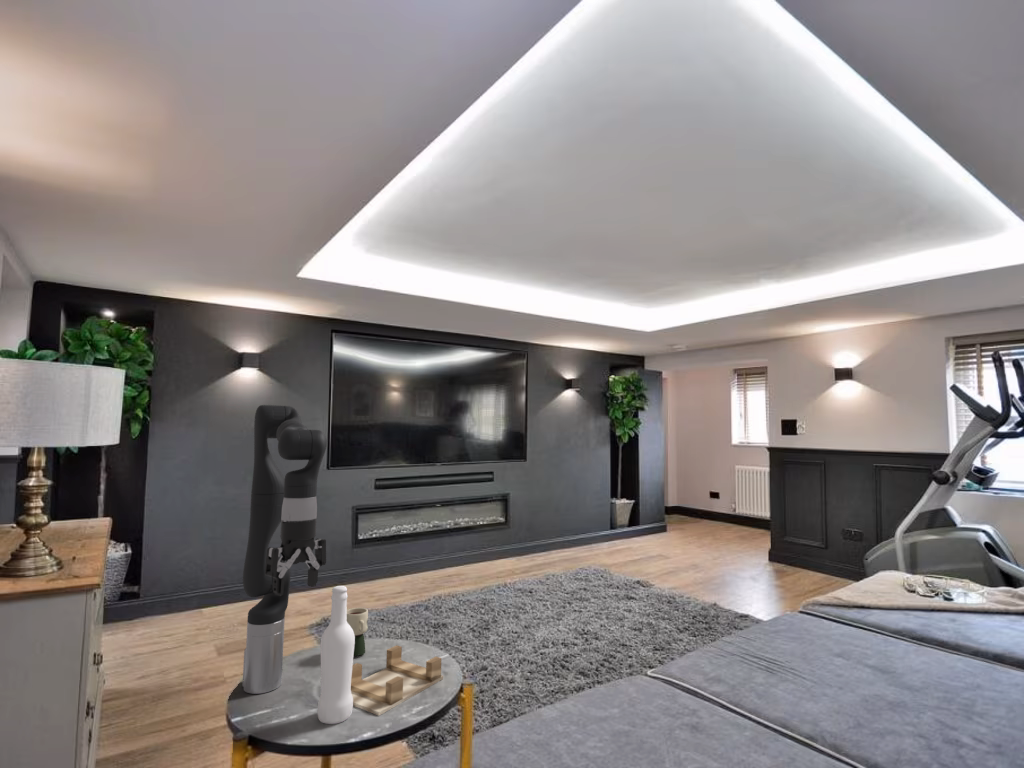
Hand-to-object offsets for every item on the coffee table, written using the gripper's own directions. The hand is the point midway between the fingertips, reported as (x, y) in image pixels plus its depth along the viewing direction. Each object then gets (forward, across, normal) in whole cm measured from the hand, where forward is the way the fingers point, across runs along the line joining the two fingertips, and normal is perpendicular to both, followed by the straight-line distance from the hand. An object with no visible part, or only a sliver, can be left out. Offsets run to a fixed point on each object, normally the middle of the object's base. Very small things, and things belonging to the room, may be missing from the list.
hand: (295, 590), depth 120 cm
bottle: (+32, -13, 0) cm, 35 cm away
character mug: (+32, -41, -25) cm, 58 cm away
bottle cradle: (+32, -31, 0) cm, 44 cm away
